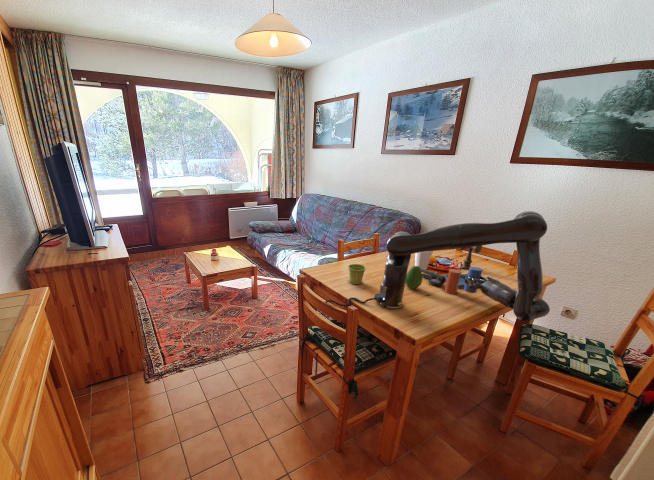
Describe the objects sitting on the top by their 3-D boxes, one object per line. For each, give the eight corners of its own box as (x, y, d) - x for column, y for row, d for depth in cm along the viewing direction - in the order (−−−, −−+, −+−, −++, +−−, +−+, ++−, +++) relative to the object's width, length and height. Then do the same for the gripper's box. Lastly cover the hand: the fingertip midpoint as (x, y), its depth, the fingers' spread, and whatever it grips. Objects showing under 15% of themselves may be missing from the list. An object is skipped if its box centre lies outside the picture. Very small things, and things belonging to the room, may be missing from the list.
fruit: (421, 287, 159) (425, 265, 154) (419, 292, 153) (423, 270, 148) (405, 284, 162) (409, 262, 158) (402, 289, 156) (406, 267, 152)
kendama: (461, 265, 190) (469, 233, 182) (477, 270, 182) (485, 236, 174) (455, 266, 187) (462, 234, 179) (470, 271, 179) (479, 238, 172)
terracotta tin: (448, 294, 151) (453, 273, 147) (442, 289, 156) (447, 269, 152) (458, 293, 152) (463, 272, 147) (452, 289, 156) (456, 268, 152)
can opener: (448, 286, 159) (450, 276, 157) (436, 288, 158) (438, 277, 156) (426, 274, 175) (428, 265, 173) (415, 275, 174) (416, 266, 172)
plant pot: (367, 282, 165) (369, 266, 162) (358, 287, 159) (360, 271, 155) (352, 277, 171) (353, 262, 168) (343, 282, 165) (344, 267, 161)
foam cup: (430, 267, 186) (434, 246, 181) (428, 272, 178) (432, 250, 173) (413, 264, 190) (417, 244, 185) (410, 269, 183) (414, 248, 178)
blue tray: (457, 288, 157) (458, 284, 157) (441, 278, 170) (442, 275, 169) (486, 287, 159) (487, 283, 158) (468, 277, 171) (469, 273, 171)
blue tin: (468, 293, 142) (474, 270, 137) (461, 288, 146) (466, 266, 142) (479, 292, 142) (485, 270, 138) (471, 288, 147) (477, 266, 143)
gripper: (515, 282, 128) (485, 268, 144) (483, 283, 126) (457, 269, 142) (510, 298, 131) (481, 282, 146) (478, 299, 129) (453, 283, 145)
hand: (469, 276), depth 144 cm, fingers closed on blue tin, 5 cm apart
